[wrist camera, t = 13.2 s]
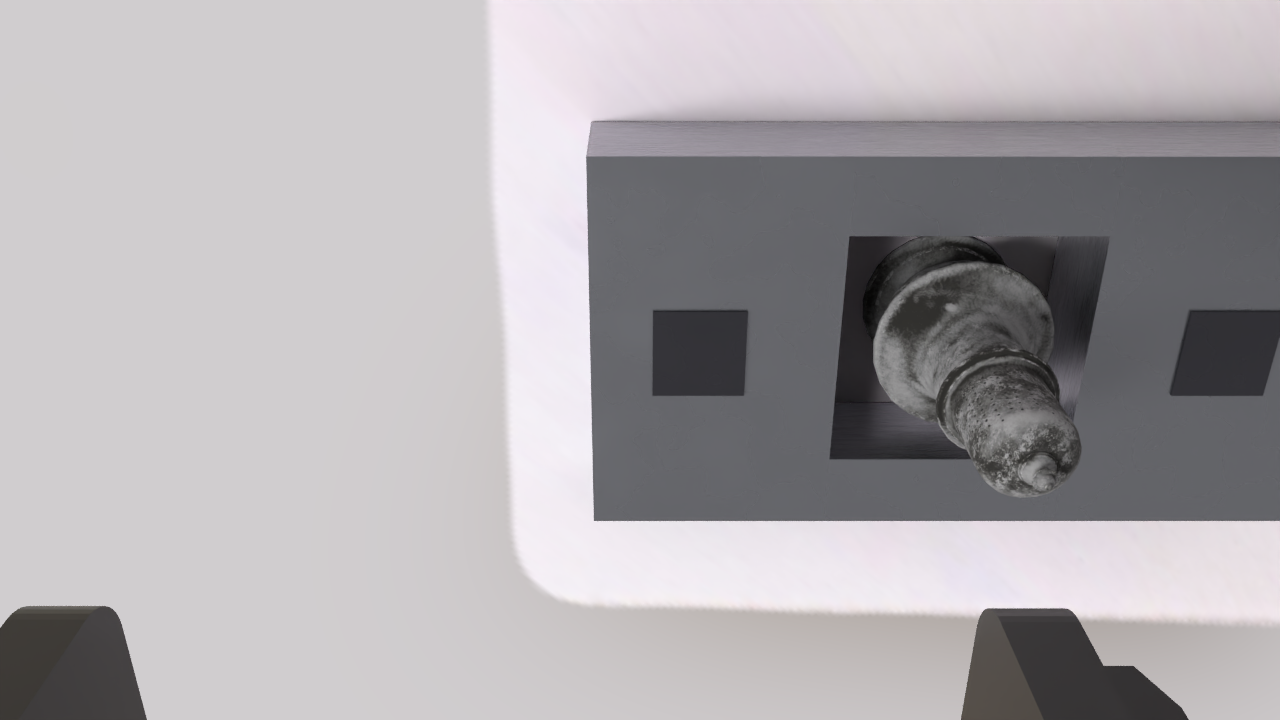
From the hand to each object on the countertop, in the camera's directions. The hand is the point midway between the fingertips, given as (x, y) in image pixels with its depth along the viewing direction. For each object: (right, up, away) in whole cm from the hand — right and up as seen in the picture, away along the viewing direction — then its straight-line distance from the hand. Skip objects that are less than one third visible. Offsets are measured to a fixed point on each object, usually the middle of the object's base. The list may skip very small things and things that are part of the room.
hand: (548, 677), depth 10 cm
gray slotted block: (+11, +5, +29) cm, 31 cm away
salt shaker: (+11, +5, +29) cm, 32 cm away
